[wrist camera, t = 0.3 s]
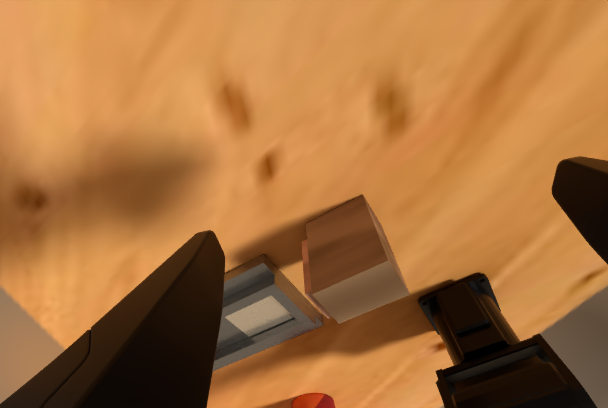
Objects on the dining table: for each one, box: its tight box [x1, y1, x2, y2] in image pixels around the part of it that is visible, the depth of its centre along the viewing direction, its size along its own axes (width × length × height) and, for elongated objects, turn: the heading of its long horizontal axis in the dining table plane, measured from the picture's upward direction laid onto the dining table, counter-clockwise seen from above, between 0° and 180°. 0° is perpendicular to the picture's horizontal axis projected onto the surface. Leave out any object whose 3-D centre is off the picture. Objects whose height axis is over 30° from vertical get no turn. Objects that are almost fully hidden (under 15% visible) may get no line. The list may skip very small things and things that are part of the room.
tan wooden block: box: [302, 194, 410, 324], centre depth 22 cm, size 4×6×7 cm, turn 121°
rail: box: [213, 254, 324, 371], centre depth 28 cm, size 10×20×8 cm, turn 121°
